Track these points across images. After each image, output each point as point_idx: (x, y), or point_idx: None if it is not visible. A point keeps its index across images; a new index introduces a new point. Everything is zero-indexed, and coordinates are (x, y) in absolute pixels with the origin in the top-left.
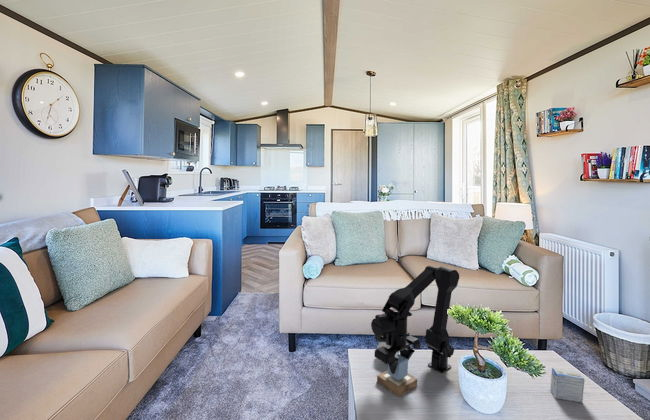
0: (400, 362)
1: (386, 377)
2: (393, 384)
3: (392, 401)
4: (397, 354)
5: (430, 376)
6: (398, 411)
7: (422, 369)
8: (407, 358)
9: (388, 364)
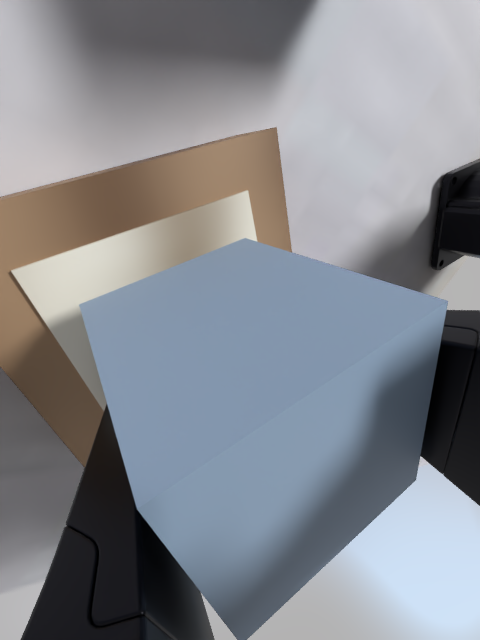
0: (291, 592)
1: (48, 317)
2: (83, 430)
3: (11, 494)
4: (420, 348)
5: (379, 277)
6: (18, 569)
7: (398, 199)
8: (424, 456)
9: (70, 524)
